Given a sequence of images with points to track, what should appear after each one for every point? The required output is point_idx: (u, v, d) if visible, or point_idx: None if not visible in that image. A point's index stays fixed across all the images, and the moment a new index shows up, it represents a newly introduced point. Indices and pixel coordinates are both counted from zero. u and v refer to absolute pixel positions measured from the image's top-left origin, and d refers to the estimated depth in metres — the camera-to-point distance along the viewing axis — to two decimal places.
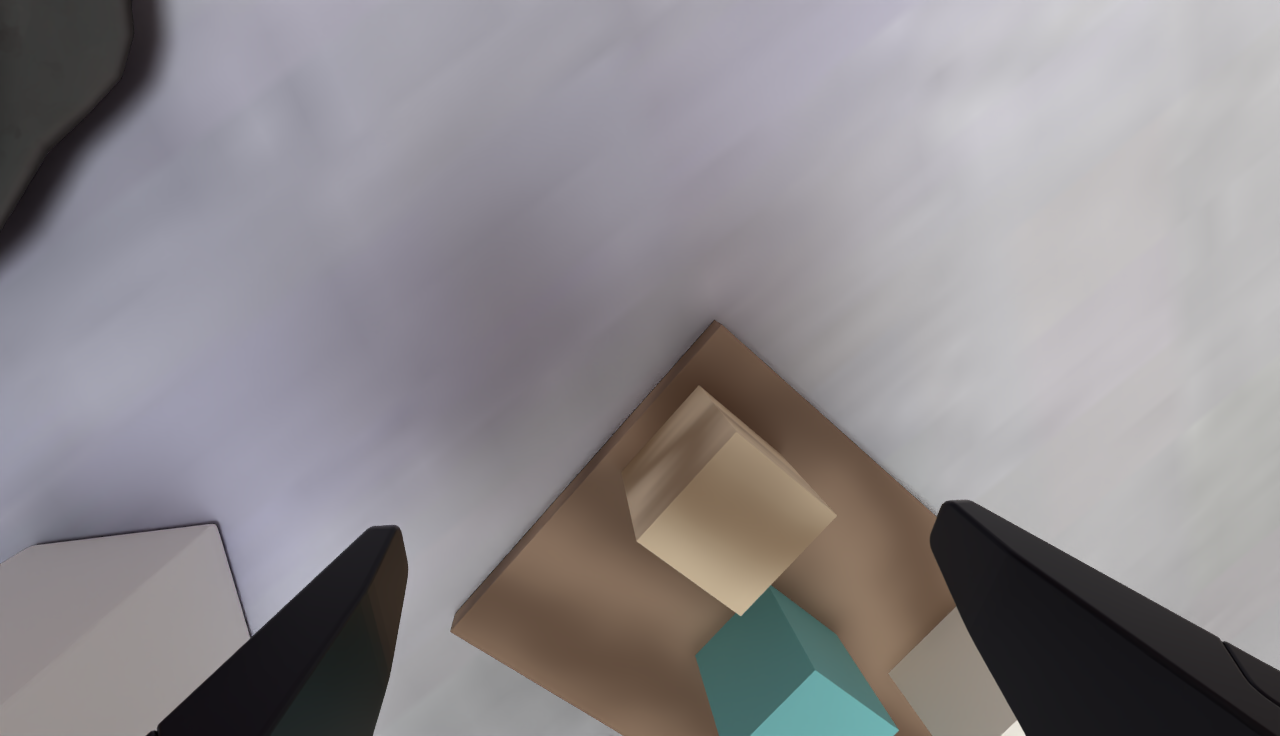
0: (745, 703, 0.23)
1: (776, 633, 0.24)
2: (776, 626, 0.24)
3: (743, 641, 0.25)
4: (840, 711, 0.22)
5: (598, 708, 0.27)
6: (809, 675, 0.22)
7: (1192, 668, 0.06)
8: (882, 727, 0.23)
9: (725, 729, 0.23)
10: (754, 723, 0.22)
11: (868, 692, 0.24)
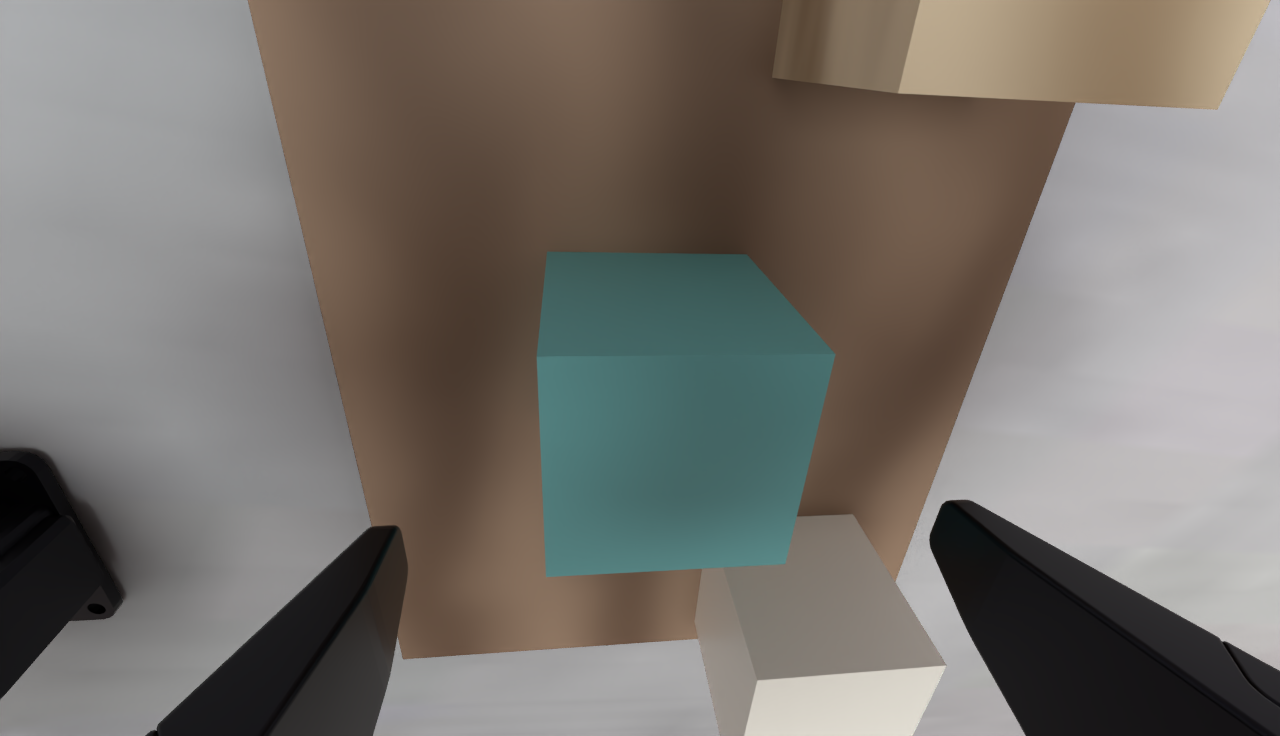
0: (633, 323, 0.10)
1: (750, 294, 0.12)
2: (752, 289, 0.12)
3: (666, 276, 0.13)
4: (771, 460, 0.11)
5: (313, 165, 0.12)
6: (817, 353, 0.10)
7: (1192, 668, 0.06)
8: (777, 540, 0.12)
9: (561, 328, 0.10)
10: (643, 348, 0.10)
11: None
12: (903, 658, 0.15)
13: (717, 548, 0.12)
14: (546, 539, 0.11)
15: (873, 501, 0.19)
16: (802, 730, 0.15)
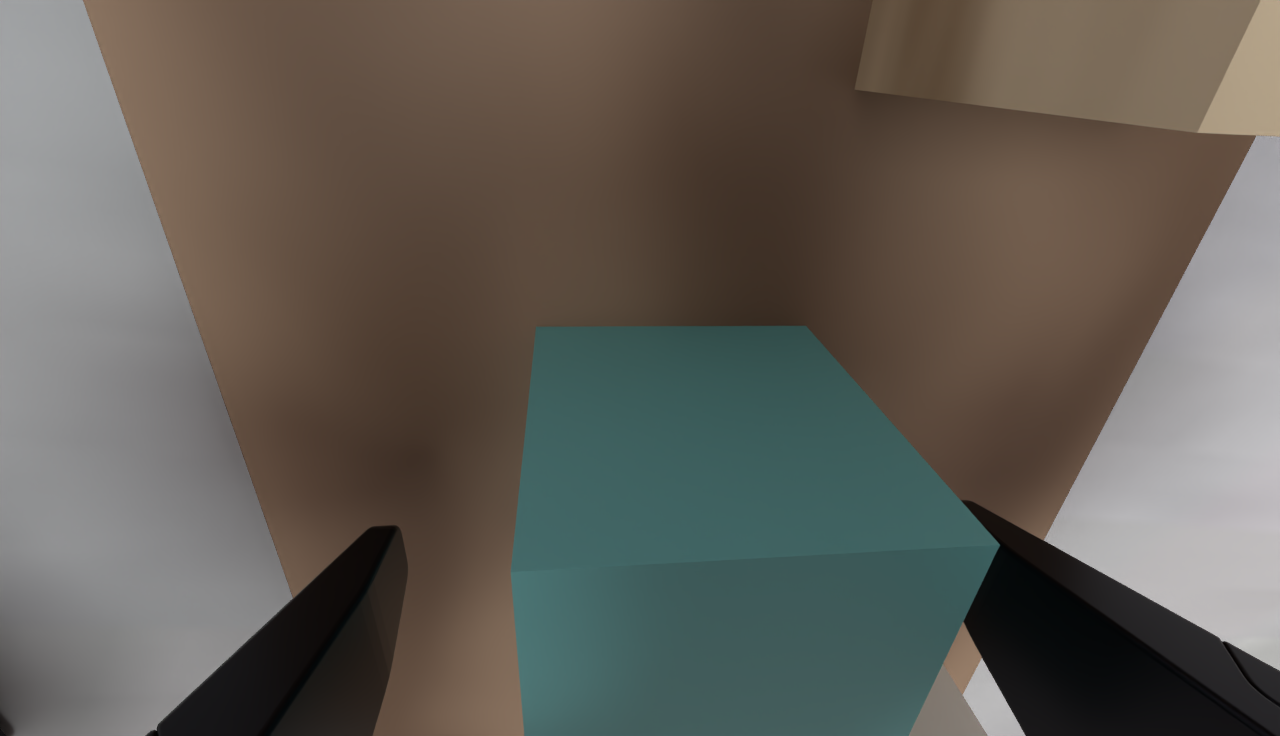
0: (667, 477, 0.07)
1: (830, 406, 0.08)
2: (830, 395, 0.08)
3: (704, 370, 0.09)
4: (878, 681, 0.07)
5: (198, 215, 0.09)
6: (970, 545, 0.06)
7: (1192, 668, 0.06)
8: None
9: (554, 494, 0.06)
10: (688, 543, 0.06)
11: None
12: None
13: None
14: None
15: None
16: None
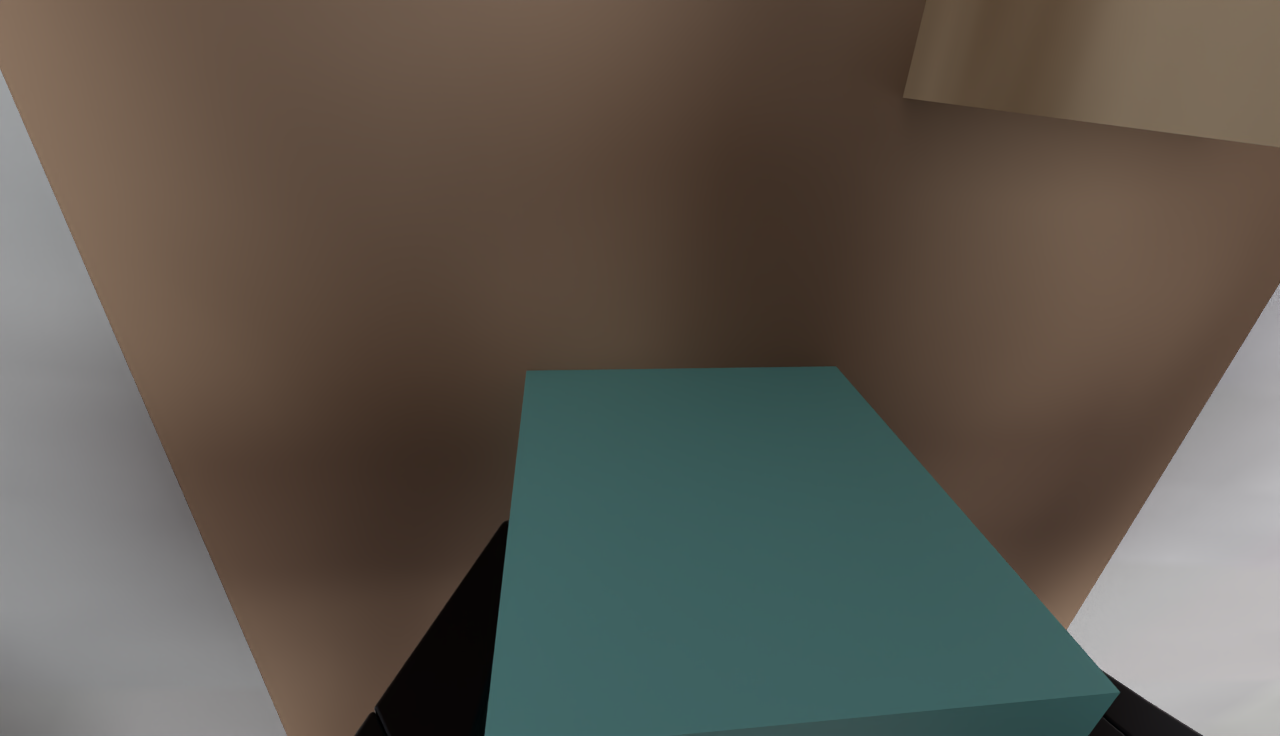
0: (686, 589, 0.05)
1: (876, 477, 0.07)
2: (874, 462, 0.07)
3: (724, 428, 0.08)
4: None
5: (124, 247, 0.07)
6: (1082, 692, 0.05)
7: None
8: None
9: (543, 618, 0.05)
10: (719, 696, 0.04)
11: None
12: None
13: None
14: None
15: None
16: None
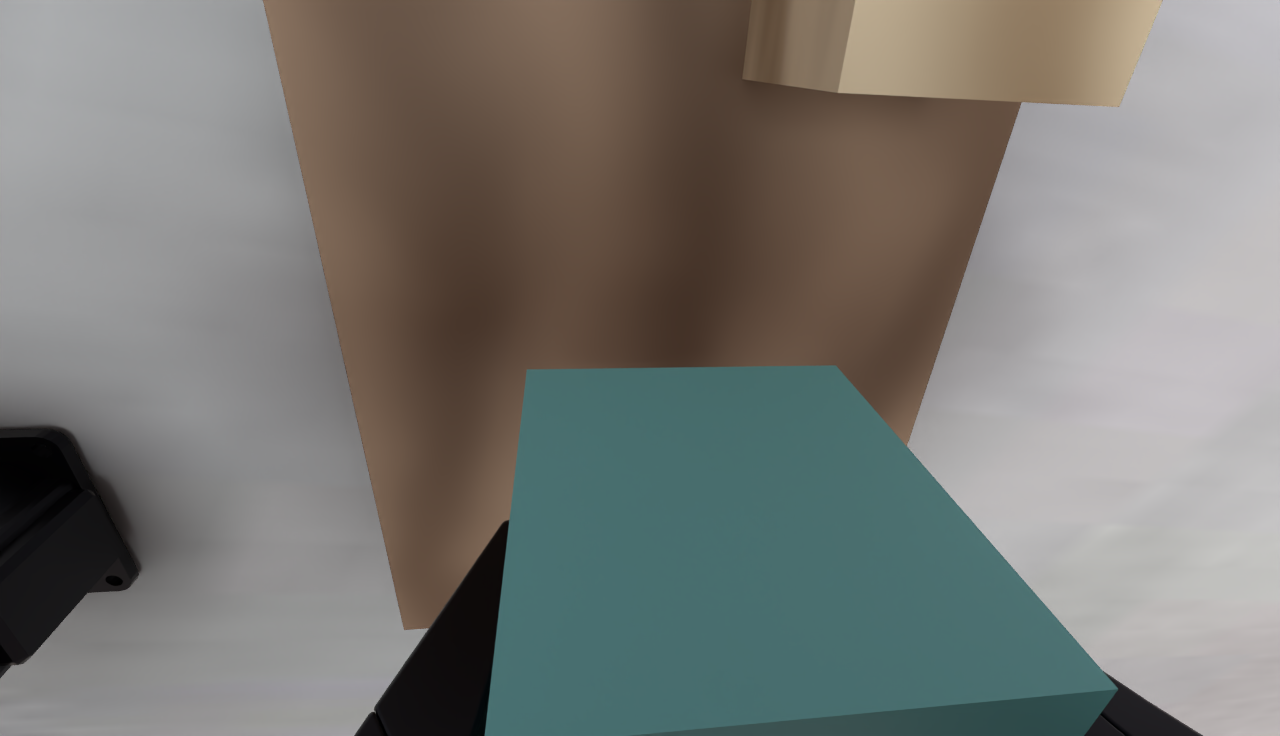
0: (686, 586, 0.05)
1: (875, 475, 0.07)
2: (874, 460, 0.07)
3: (724, 427, 0.08)
4: None
5: (323, 159, 0.14)
6: (1081, 690, 0.05)
7: None
8: None
9: (543, 615, 0.05)
10: (718, 693, 0.04)
11: None
12: None
13: None
14: None
15: None
16: None
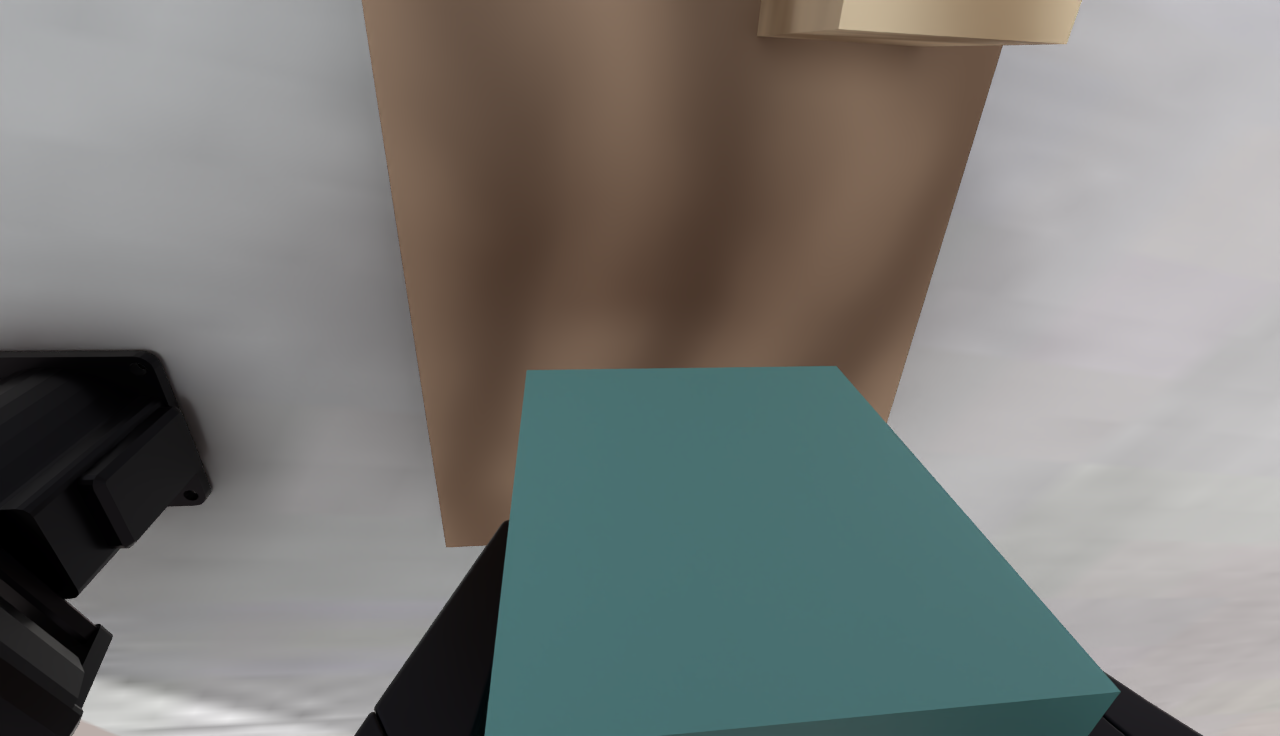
0: (686, 588, 0.05)
1: (877, 476, 0.07)
2: (875, 461, 0.07)
3: (724, 427, 0.08)
4: None
5: (398, 103, 0.16)
6: (1082, 692, 0.05)
7: None
8: None
9: (543, 618, 0.05)
10: (719, 696, 0.04)
11: None
12: None
13: None
14: None
15: None
16: None
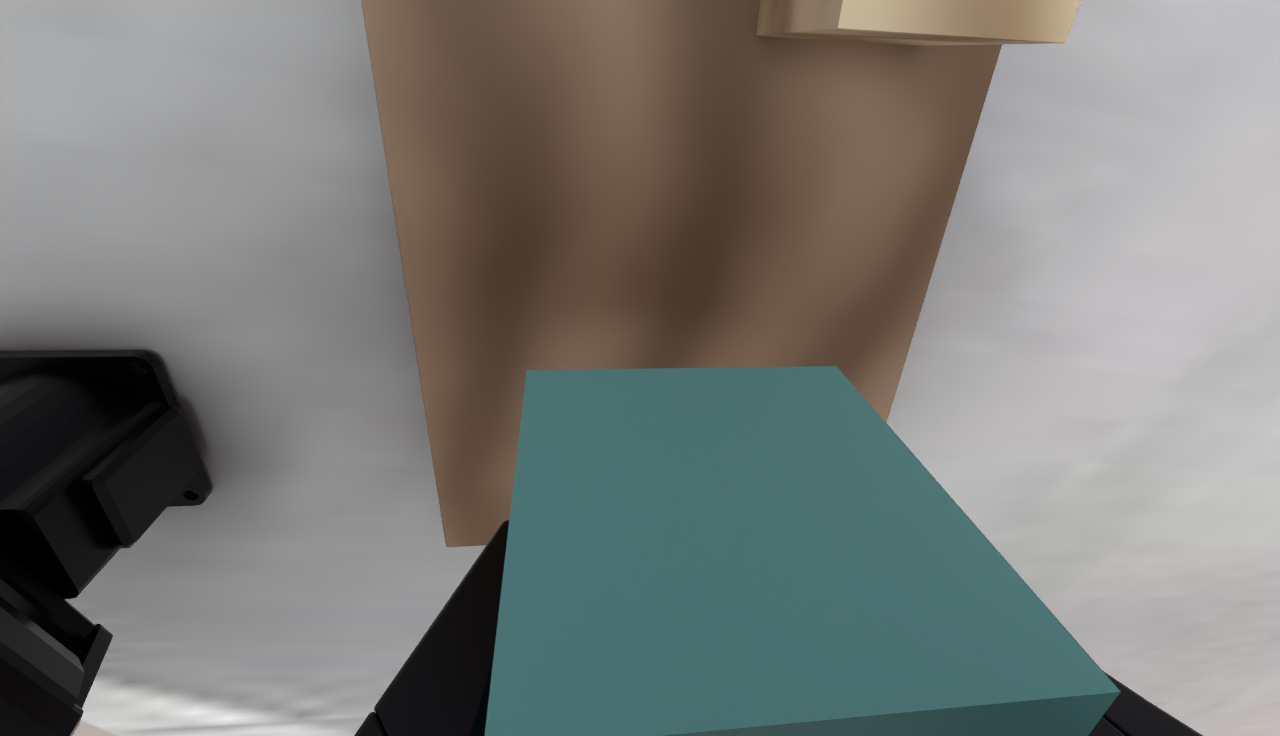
0: (687, 588, 0.05)
1: (877, 477, 0.07)
2: (875, 461, 0.07)
3: (724, 428, 0.08)
4: None
5: (397, 103, 0.16)
6: (1083, 691, 0.05)
7: None
8: None
9: (543, 617, 0.05)
10: (719, 696, 0.04)
11: None
12: None
13: None
14: None
15: None
16: None
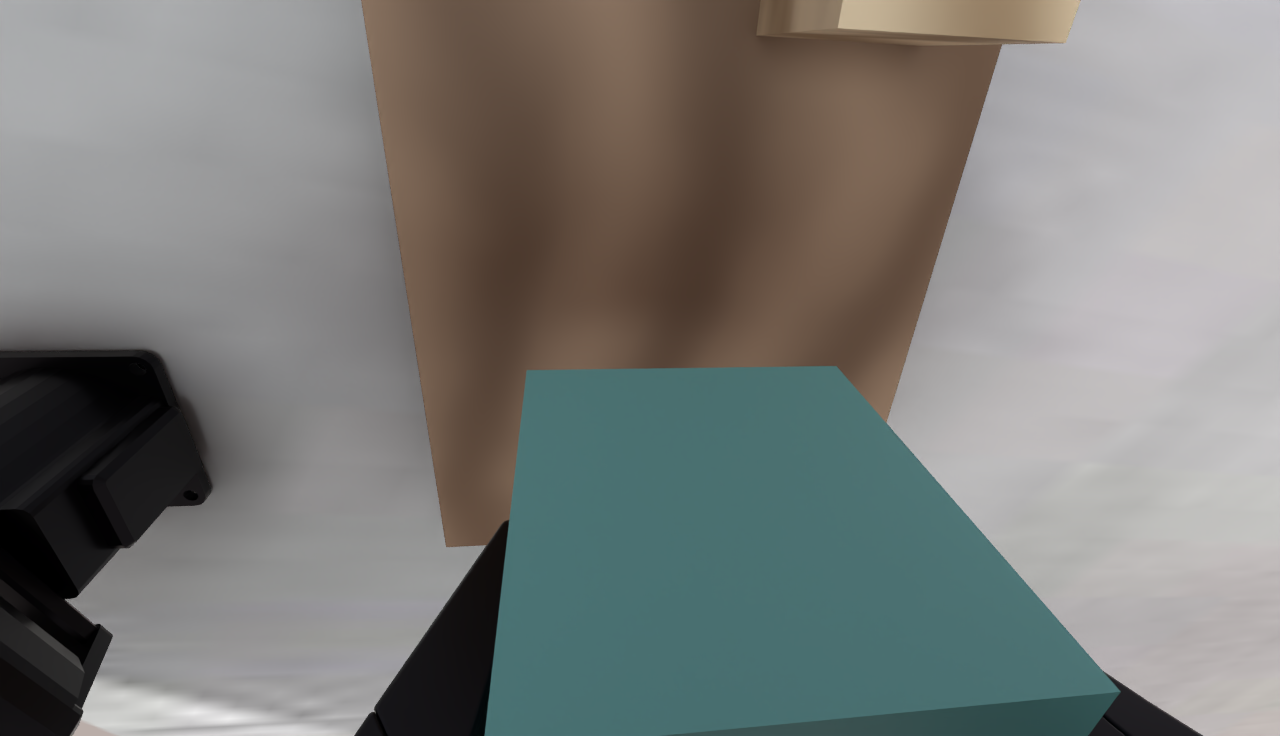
0: (687, 588, 0.05)
1: (877, 477, 0.07)
2: (875, 461, 0.07)
3: (724, 428, 0.08)
4: None
5: (397, 103, 0.16)
6: (1083, 691, 0.05)
7: None
8: None
9: (543, 617, 0.05)
10: (719, 696, 0.04)
11: None
12: None
13: None
14: None
15: None
16: None
